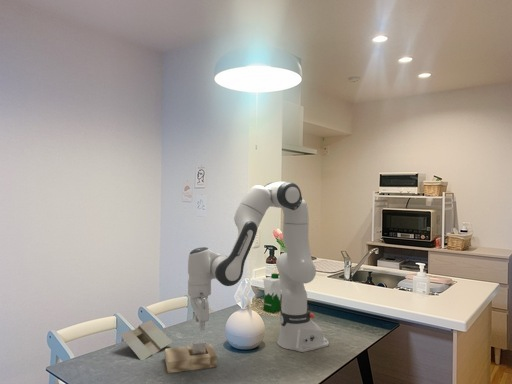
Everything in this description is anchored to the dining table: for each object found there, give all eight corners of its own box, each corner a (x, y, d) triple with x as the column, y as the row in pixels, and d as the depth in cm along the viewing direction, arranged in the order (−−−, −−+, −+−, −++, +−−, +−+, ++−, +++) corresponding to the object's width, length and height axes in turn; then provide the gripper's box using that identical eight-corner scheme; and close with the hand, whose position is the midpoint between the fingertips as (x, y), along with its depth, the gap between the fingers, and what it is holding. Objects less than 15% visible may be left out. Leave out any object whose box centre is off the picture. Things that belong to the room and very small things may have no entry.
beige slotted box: (166, 352, 164) (147, 324, 170) (174, 341, 160) (154, 313, 165) (134, 372, 151) (115, 341, 157) (141, 361, 147) (121, 330, 152)
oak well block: (210, 353, 154) (210, 343, 154) (216, 366, 143) (216, 356, 143) (164, 358, 149) (165, 348, 149) (167, 373, 137) (168, 362, 137)
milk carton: (283, 310, 211) (283, 274, 211) (273, 314, 205) (274, 277, 204) (270, 307, 217) (271, 272, 217) (260, 310, 210) (261, 274, 210)
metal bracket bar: (203, 358, 149) (203, 338, 149) (205, 363, 146) (205, 342, 146) (190, 360, 148) (191, 340, 148) (192, 365, 144) (192, 344, 144)
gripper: (213, 296, 138) (213, 334, 138) (202, 283, 157) (203, 316, 157) (195, 298, 136) (196, 336, 136) (187, 284, 155) (187, 317, 155)
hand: (199, 325), depth 147 cm, fingers open, 8 cm apart
